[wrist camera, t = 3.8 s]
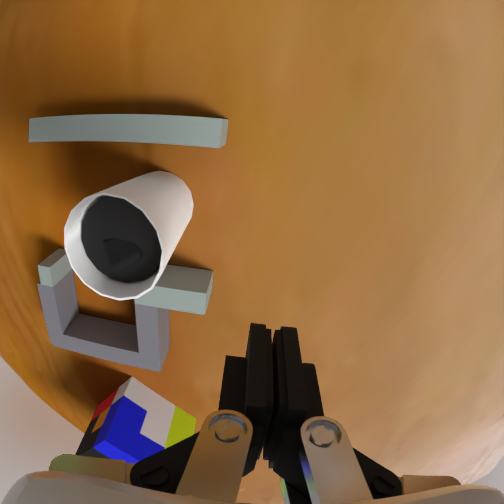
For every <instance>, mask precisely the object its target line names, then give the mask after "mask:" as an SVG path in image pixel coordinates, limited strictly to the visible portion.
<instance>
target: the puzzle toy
mask: <svg viewBox="0 0 504 504" xmlns="http://www.w3.org/2000/svg"><path fill="white" fill-rule="evenodd" d="M195 424H196V418H194V417H193V416H191V415H189V414H188V413H186V412H184V411H183V410H181V409H180V408H178V407H176V406H175V405H173V404H172V403H170V402H169V401H167V400H166V399H164V398H163V397H161V396H160V395H158V394H157V393H155V392H154V391H152V390H151V389H149V388H148V387H147V386H145V385H144V384H142V383H141V382H139V381H138V380H137V379H135V378H134V377H130V378H129V379H128V380H127V381H126V382H125V383H123V384H122V385H121V386H120V387H119V388H118V389H117V390H115V391H114V392H113V393H112V394H111V395H110V396H108V397H107V398H106V399H105V400H104V401H102V402H101V403H100V404H99V405H98V407H97V409H96V411H95V413H94V415H93V417H92V420H91V422H90V424H89V426H88V428H87V430H86V432H85V435H84V437H83V439H82V441H81V443H80V446H79V448H78V450H77V452H76V454H75V455H79V456H87V457H96V458H106V459H118V460H125V462H126V463H137V462H139V461H140V460H142V459H144V458H146V457H149V456H151V455H153V454H155V453H157V452H159V451H161V450H164V449H166V448H168V447H170V446H172V445H174V444H176V443H178V442H180V441H182V440H184V439H186V438H188V437H190V436H192V435H193V434H194V429H195Z"/></svg>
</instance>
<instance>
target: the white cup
mask: <svg viewBox="0 0 504 504" xmlns="http://www.w3.org/2000/svg"><path fill="white" fill-rule="evenodd" d="M193 205H194V204H193V200H192V195H191V191H190V190H189V188H188V187H187V185H186V184H185V183H184V181H183V180H182V179H180V178H179V177H177V176H176V175H174V174H173V173H170V172H164V171H154V172H150V173H146V174H144V175H141V176H138V177H136V178H133V179H130V180H128V181H125V182H123V183H120V184H117V185H115V186H112V187H110V188H107V189H105V190H102V191H100V192H97V193H95V194H93V195H90V196H88V197H85V198H84V199H83V200H82V201H81V202H80V203H79V204H78V205H77V206H75V207H74V208H73V209H72V210H71V212H70V215H69V217H68V220H67V223H66V225H65V228H64V246H65V251H66V254H67V257H68V259H69V262H70V265H71V267H72V269H73V270H74V271H75V273H76V274H77V275H78V277H79V278H80V279H81V281H82V282H83V283H84V284H85V285H86V286H88V287H89V288H91V289H92V290H94V291H95V292H97V293H98V294H99V295H101V296H105V297H108V298H112V299H116V300H128V299H137V298H139V297H141V296H142V295H144V294H145V293H147V292H149V291H150V290H152V289H153V288H154V286H155V284H156V283H157V281H158V280H159V278H160V276H161V275H162V273H163V271H164V269H165V267H166V265H167V263H168V261H169V259H170V257H171V255H172V253H173V251H174V249H175V247H176V245H177V244H178V242H179V240H180V238H181V236H182V234H183V232H184V230H185V228H186V226H187V225H188V223H189V221H190V219H191V217H192V211H193Z"/></svg>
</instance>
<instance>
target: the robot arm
mask: <svg viewBox="0 0 504 504" xmlns="http://www.w3.org/2000/svg"><path fill="white" fill-rule="evenodd" d="M262 447H263V459H264V460H269V468H273V471H274V472H275V473H277V474H278V475H279V476H280V484H281V488H282V493H283V498H284V502H285V504H504V494H503V493H502V492H501V491H499V490H497V489H495V488H492V487H489V486H483V485H470V484H467V485H461V484H460V482H459V481H458V480H457V479H455V478H454V477H450V476H417V475H403V476H402V477H397V476H396V475H395V474H394V473H393V472H391V471H389V470H388V469H386V468H384V467H383V466H381V465H379V464H378V463H376V462H375V461H373V460H371V459H370V458H368V457H367V456H365V455H364V454H362V453H360V452H359V451H357V450H356V449H354V448H353V447H352V445H351V443H350V440H349V438H348V436H347V433H346V431H345V429H344V427H343V426H342V425H341V424H340V423H339V422H338V421H336V420H334V419H332V418H329V417H325V416H324V413H323V407H322V402H321V396H320V391H319V385H318V380H317V375H316V369H315V366H314V364H310V363H302V360H301V353H300V347H299V340H298V334H297V328H293V327H283V326H282V327H281V329H280V330H275V332H274V337H273V342H272V338H271V329H266V325H264V324H255V323H251V325H250V331H249V337H248V344H247V351H246V357H245V358H244V357H236V356H228V355H226V359H225V366H224V373H223V380H222V388H221V395H220V402H219V409H218V411H215V412H213V413H211V414H210V415H208V416H207V417H206V419H205V421H204V422H203V425H202V427H201V430H200V431H199V432H198V433H196V434H194V435H192V436H190V437H188V438H186V439H184V440H182V441H180V442H178V443H176V444H174V445H172V446H170V447H168V448H166V449H164V450H161V451H159V452H157V453H155V454H153V455H151V456H149V457H146V458H144V459H142V460H140V461H139V462H137V463H126V462H125V460H118V459H106V458H96V457H87V456H79V455H72V454H62V455H60V456H57V457H56V458H54V459H53V460H52V462H51V464H50V466H49V471H41V472H34V473H30V474H27V475H25V476H23V477H21V478H20V479H19V480H18V481H17V482H16V483H15V484H14V485H13V486H12V487H11V489H10V490H9V491H8V493H7V495H6V496H5V498H4V499H3V501H2V503H1V504H249V503H235V502H236V498H237V494H238V491H239V487H240V483H241V479H242V477H244V476H245V475H247V474H248V473H250V472H251V471H253V470H254V468H255V464H256V461H257V459H259V457H260V454H261V451H262Z"/></svg>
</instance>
